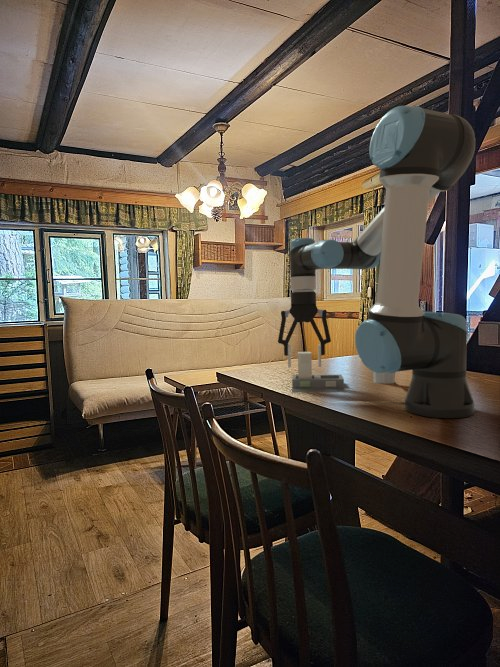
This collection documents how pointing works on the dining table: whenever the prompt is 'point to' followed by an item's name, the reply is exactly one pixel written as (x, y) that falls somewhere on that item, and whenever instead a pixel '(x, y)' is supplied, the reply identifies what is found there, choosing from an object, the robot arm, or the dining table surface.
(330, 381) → the panel
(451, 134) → the robot arm
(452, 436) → the dining table surface
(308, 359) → the plug
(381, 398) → the dining table surface
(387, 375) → the cup
